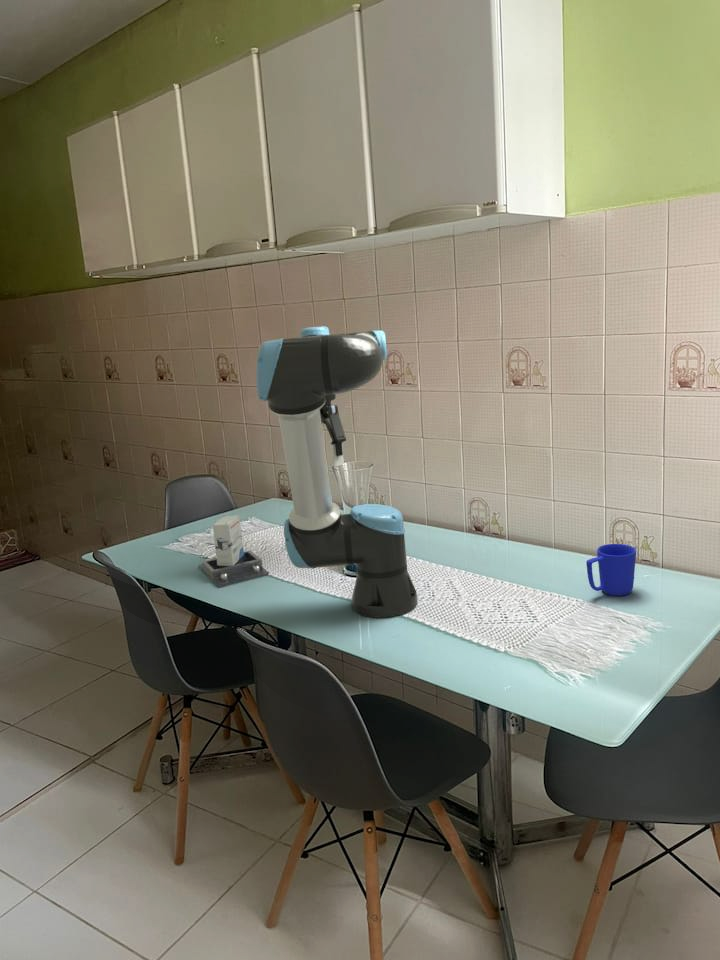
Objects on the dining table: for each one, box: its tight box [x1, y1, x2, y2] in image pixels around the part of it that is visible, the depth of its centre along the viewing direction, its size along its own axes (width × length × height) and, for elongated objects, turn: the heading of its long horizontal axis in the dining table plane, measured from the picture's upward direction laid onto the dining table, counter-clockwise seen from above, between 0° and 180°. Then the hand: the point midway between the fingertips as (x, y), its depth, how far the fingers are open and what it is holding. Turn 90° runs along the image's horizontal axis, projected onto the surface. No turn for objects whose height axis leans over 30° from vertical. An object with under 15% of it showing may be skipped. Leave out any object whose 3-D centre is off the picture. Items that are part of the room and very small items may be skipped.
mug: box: [586, 543, 637, 597], centre depth 162 cm, size 8×12×10 cm
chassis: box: [197, 549, 270, 589], centre depth 200 cm, size 20×14×3 cm
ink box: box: [212, 515, 245, 566], centre depth 198 cm, size 9×5×12 cm, turn 168°
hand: (328, 463), depth 198 cm, fingers open, 13 cm apart
